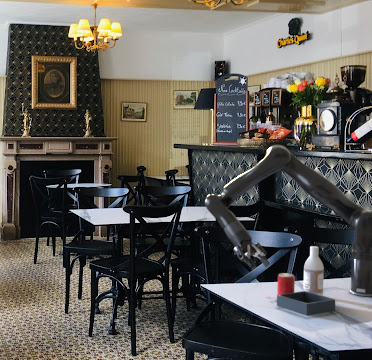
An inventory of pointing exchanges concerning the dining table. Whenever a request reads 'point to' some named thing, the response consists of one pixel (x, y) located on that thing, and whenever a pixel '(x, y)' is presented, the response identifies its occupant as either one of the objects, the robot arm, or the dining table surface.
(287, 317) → the dining table surface
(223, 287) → the dining table surface
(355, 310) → the dining table surface
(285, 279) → the can
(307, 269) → the bath foam
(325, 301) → the tub
